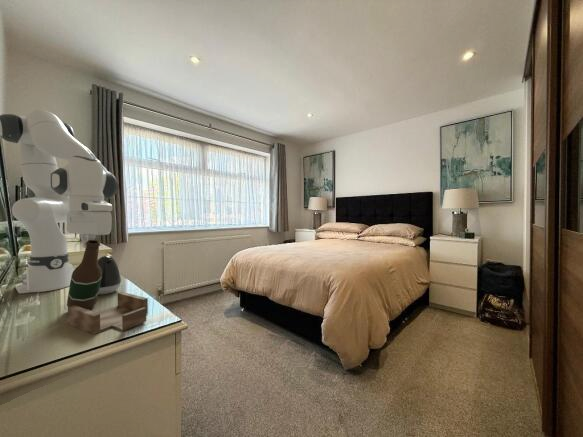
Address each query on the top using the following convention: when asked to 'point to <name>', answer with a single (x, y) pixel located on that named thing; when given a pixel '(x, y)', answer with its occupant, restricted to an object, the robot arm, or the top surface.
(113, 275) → the dark grey oval piece
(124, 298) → the u rest
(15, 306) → the top surface
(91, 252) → the beer bottle
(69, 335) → the top surface
